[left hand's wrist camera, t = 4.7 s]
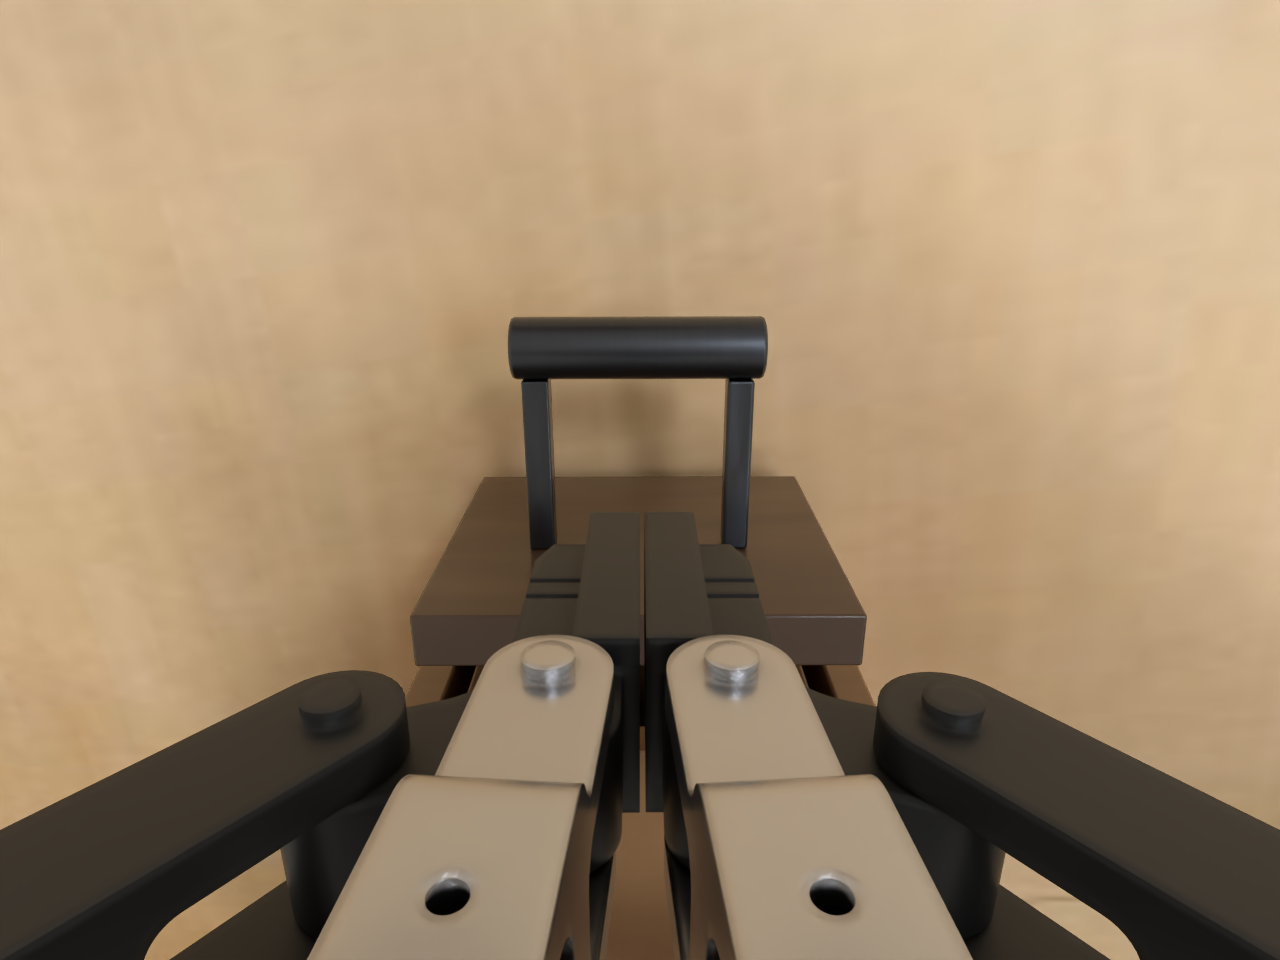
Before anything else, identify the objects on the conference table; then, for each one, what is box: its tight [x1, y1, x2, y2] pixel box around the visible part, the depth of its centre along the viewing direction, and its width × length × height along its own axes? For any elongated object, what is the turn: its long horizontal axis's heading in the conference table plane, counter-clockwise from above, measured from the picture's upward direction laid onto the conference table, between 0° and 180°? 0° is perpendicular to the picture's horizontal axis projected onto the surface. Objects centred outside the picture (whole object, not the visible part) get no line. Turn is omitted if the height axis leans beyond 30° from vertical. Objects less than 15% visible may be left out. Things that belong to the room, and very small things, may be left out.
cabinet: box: [405, 665, 875, 960], centre depth 25 cm, size 21×10×10 cm, turn 0°
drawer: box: [410, 317, 867, 726], centre depth 23 cm, size 25×9×8 cm, turn 0°
